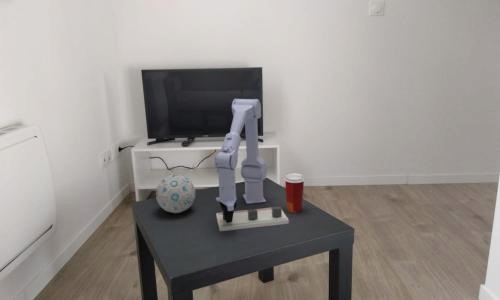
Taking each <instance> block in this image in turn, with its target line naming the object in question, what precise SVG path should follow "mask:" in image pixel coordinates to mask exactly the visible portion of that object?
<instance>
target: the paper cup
mask: <svg viewBox="0 0 500 300" xmlns="http://www.w3.org/2000/svg"><path fill="white" fill-rule="evenodd" d="M283 180H284V181H285V199H286V210H287V212H289V213H291V214H297V213H301V212H302V210H303V199H304V198H303V197H304V196H303V195H304V187H305V186H304V184H305V183H304V181H306V180H305V178H304V175H303V174H301V173H293V172H292V173H289V174H286V175H285V176H284V178H283Z"/></svg>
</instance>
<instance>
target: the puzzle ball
mask: <svg viewBox="0 0 500 300" xmlns="http://www.w3.org/2000/svg"><path fill="white" fill-rule="evenodd" d="M155 196H156V201H157V204H158V206H159V207H160V208H161V209H163V210H164V211H166V212H168V213H173V214H180V213H183V212H185V211H186V210H189V209H190V208H191V207H192V205H193V204H194V201H196V199H195V198H196V189H195V186H194V184H193V182H192V181H191V179H189V178H188V177H186V176H184V175H181V174H175V173H174V174H171V175H167V176H165V177H164V178H162V180H161V181H160V182H159V183H158V185H157V187H156V191H155Z"/></svg>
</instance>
